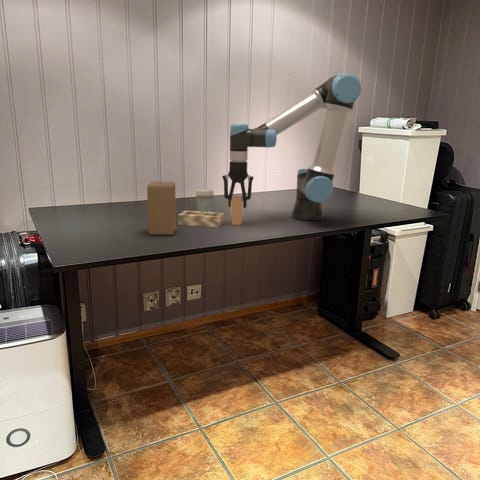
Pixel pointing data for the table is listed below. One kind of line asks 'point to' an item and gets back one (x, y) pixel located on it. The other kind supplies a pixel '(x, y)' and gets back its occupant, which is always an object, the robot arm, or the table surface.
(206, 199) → the coffee cup
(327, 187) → the robot arm
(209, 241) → the table surface
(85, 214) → the table surface
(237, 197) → the peg
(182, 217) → the socket block
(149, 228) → the block
